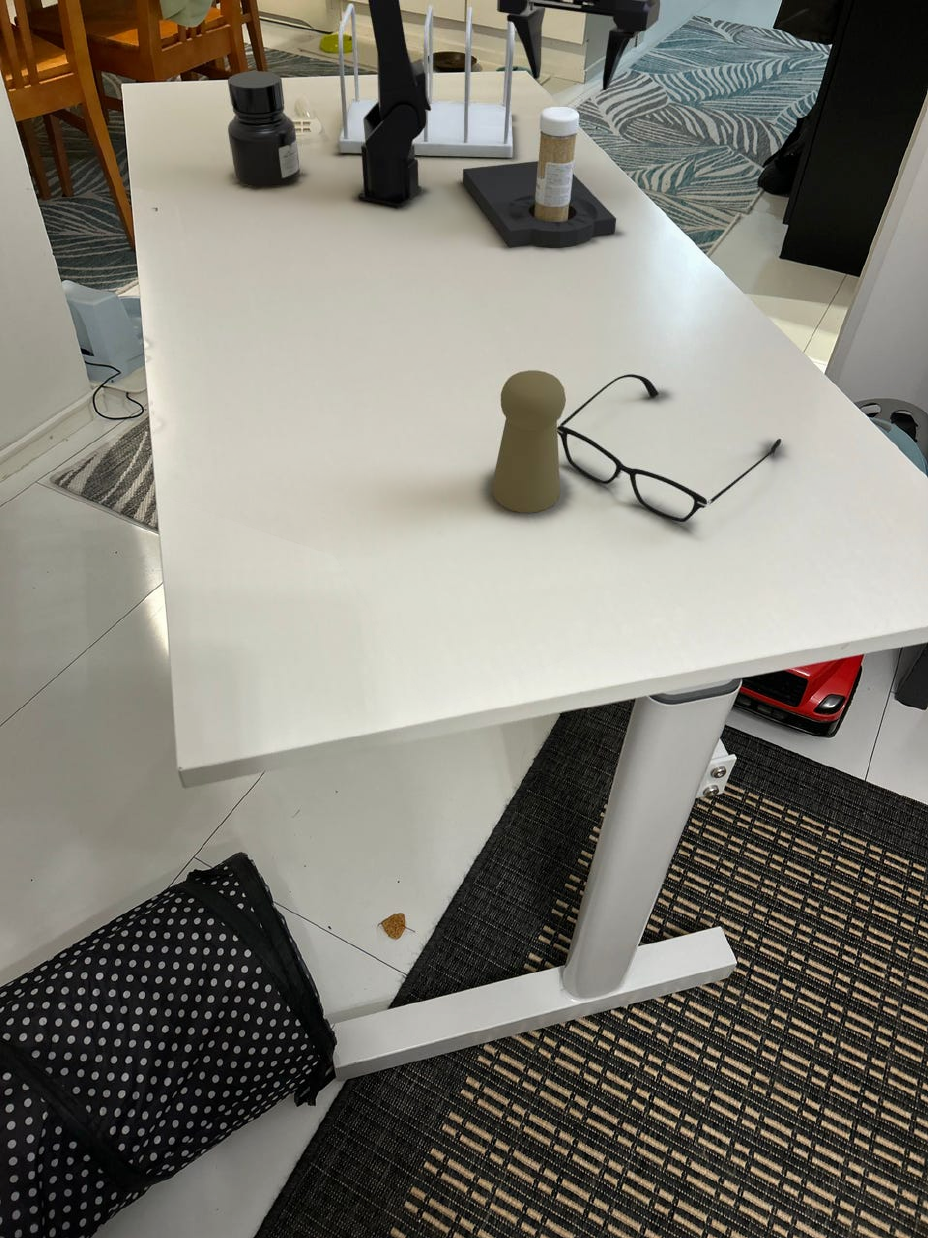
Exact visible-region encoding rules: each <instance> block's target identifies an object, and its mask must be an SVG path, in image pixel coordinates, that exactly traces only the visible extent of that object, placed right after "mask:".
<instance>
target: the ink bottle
mask: <svg viewBox="0 0 928 1238" xmlns="http://www.w3.org/2000/svg"><path fill="white" fill-rule="evenodd" d="M227 85H228V90H229V98H230V103H231V106H232V113H234V116H233V118H232V119H231V120H230V122H229V123H228V126H227V133H228V134H227V135H228V139H229V145H230V152H231V158H232V164H233V170H234V176H235V178H236V179H237V181H238V182H240V183H241V184H242V185H245V186H247V187H248V186H249V187H254V188H273V187H280V186H284V185H285V186H286V185H288V184H291V183H292V182H295V180H297V179H298V177H300V172H301V169H300V161H299V151H298V150H299V149H298V141H297V134H296V133H297V132H296V126H295V124H294V122H293V120H292V119H291V118H290V117H289V116H288V115H286V113H284V111H285V96H284V89H283V80H282V78H281V76H280V75H279V74H277V73H275V72H269V71H258V70H257V71H256V70H253V71H244V72H240V73H236V74H234V75H231V76H230V77H229V78H228V80H227Z"/></svg>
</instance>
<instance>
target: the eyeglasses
mask: <svg viewBox="0 0 928 1238" xmlns="http://www.w3.org/2000/svg"><path fill="white" fill-rule="evenodd" d="M626 378H633V379H638V380H639V381H640V382H641V383H642V384H643V385H644V387H645V389H646V391H647V393H648V395H649V397H650V398H652V397H657V396H659V395H660V393H659V392H658V389H656V387H655V385H654V384H653V383H652V381H650V380H649V379H648V378H646V377H644V376H642V375H638V374H633V373H630V374H624V375H621V376H618V377H617V378H614V379H613V380H611V381H610V382H609V383H607V384H606V385H604V386H603V387H602V388H601V389H600V390H599V391H597V392H596V393H595V394H593V396H591V397H590V398H589V399H587V400H586V402H584V403H583V404H582V405H581V406H579V407H578V408H577V409H576V410H574V412H573V413H571V414H570V415H569V416H568V417H567V418H565V419H564V420H563V421H562V422H561V423H560V424H558V425H557V435H558V436H559V437H560V440H561V443H562V447H563V450H564V454H565V457H566V460H567V461H568V463H569V465H571V466H572V467H573V468H574V469H575V470H576V471H578V472H579V473H581V474H583V475H584V476H586V477H587V478H588V479H590V480H593V481H594V482H596V483H599V484H602V485H608V484H610V483H611V482H613V481H614V480H615V479H620V478H621V477H622V475H621V474H622V473H626V474H627V475H629V480H630V483H631V487H632V489H633V492H634V495H635V497H636V499H637V501H638V502H639V504H641V505H642V506H643V507H645V508H646V509H648V510H650V511H651V512H653V513H655V514H657V515H658V516H661V517H663V518H666V519H669V520H671V521H675V522H678V523H685V522H687V521H688V520H689V519H690V518H692V517H693V516H694V515H695V514H696V512H697V511H698V510H699V509H705V508H706V507H708V506H710V505H711V504H713V503H714V502H715V501H716V500H718V499H719V498H720V497H721V496H723V494H725V493H726V492H727V491H728V490H730V489H731V488H732V487H733V486H734V485H736V484H737V483H738V482H739V481H740V480H741V479H743V478H744V477H745V476H746V475H748V474H749V473H750V472H751V471H752V470H754V469H755V468H756V467H757V466H759V464H761V463H762V462H763V461H764V460H765V459H766V458H768V457H769V456H770V455H772V454H775V452H776V450H777V448H778V447H780V446H781V443H782V439H781V438H778V439H777V440H775V442H774V443H773V445H772V446H771V448H770V451H769V452H767V454H765V455H764V456H763V457H762V458H760V460H758V461H757V462H756V463H755V464H753V465H752V466H751V467H750V468H748V469H747V470H746V471H745V472H743V473H742V474H740V475H739V476H738V477H737V478H736V479H735V480H733V481H732V482H731V483H729V484H728V485H727V486H725V488H723V489H722V490H720V492H718V493H717V494H716V495H715V496H713V497H711V499H708V500H707V498H705V497H704V496H702V495H701V494H699V493H697V492H695V491H694V490H692V489H691V488H688V487H687V486H685V485H683V484H680V483H679V482H676V481H674V480H672V479H670V478H667V477H665V476H663V475H661V474H657V473H654V472H650V471H648V470H644V469H639V468H634V467H633V468H632V467H629V466H626V465H625V464H623V462H622V461H621V460H620V459H619V458H618V457H616V456H615V455H614V454H612V452H610V451H608V450H607V449H606V448H604V447H603V446H601V445H600V444H598V443H597V442H595V441H594V440H593V439H592V438H591V439H590V438H589V437H587V436H586V435H584V434H581V433H579V432H577V431H575V430H573V429H571V428H569V427H566V426H565V425H566V424H568V422H570V421H571V420H572V419H573V418H574V417H575V416H577V415H578V414H579V413H580V412H581V411H582V410H583V409H584V408H585V407H586V406H588V405H589V404H590V403H591V402H592V401H593V400H594V399H595V398H597V397H598V396H599V395H600V394H601V393H602V392H603V391H604V390H606V389H607V388H609V387H610V386H611V385H612V384H614V383H615V382H617V381H619V380H622V379H626ZM568 435H570V436H573V437H575V438H577V439H579V440H581V441H582V442H585V443H587V444H588V445H590V446H592V447H594V448H595V449H596V450H598V451H599V452H601V453H602V454H603V455H604V456H605V457H607V458H608V459H610V460H611V461H612V462H613V463H614V464H615V470H614V473H613V474H612V476H611V477H610V478H608V479H607V480H603V479H601V478H597V477H596V476H594V475H592V474H591V473H589V472H587V471H586V470H584V469H583V468H581V467H580V466H578V464H576V463H575V462H574V460H573V458H572V457H571V454H570V453H571V452H570V450H569V445H568ZM637 475H640V476H645V477H649V478H651V479H654V480H657V481H660V482H663V483H664V484H667V485H669V486H672V487H674V488H675V489H678V490H679V491H681V492H683V493H685V494H686V495H688V496H689V497H691V498H692V499H693V506H692V509H691V511H690V512H689V513H688V514H687V515H686V516H684V517H683V518H681V517H677V516H674V515H671V514H668V513H666V512H663V511H660V510H659V509H656V508H655V507H653V506H651V505H650V504H648V503H646V502H645V501H644V499H643V497H642V496H641V494H640V491H639V489H638V484H637V478H636V477H637Z"/></svg>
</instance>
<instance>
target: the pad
mask: <svg viewBox="0 0 928 1238" xmlns="http://www.w3.org/2000/svg"><path fill="white" fill-rule="evenodd" d="M538 161H539V160H536V161H526V162H518V163H507V164H497V165H487V166H479V167H470V168H468V167H467V168H463V169H462V185H463V186H464V188H465V189H466V190H467V192H468V193H469V194H470V196H471V197H472V199H473V200H474V201H475V202H476V204H477V205H478V207H479V209H481V210H482V213H484V215H485V216H486V217H487V219H488V220H489V221H490V223H491V224H492V225H493V227H494V228H495V229H496V231H497V232H498V233H499V235H500V236H501V238H502V239H503V240H504V242H505V243H506V245H507V246H508V248H515V247H523V246H531V245H534V246H538V247H544V248H565V247H572V246H574V247H575V246H578V245H580V244H583V243H586V242H589V241H590V240H591V239H592V238H597V237H603V236H611V235H615V231H616V226H617V225H616V224H617V217H616V216H614V214H613V213H612V212H611V211H610V210H609V209H608V208H607V207H606V206H605V205H604V204H603V203H602V202H601V201H600V199H598V198H597V197H596V196H595V195H594V194H593V193H592V191H591V190H590V189H589V188H587V186H586V185H585V184H584V183H583V182H582V181H581V180H580V179H579V178H578V177H577V176H576V175H575V174H574V173H573V177H572V186H571V196H570V202H569V208H568V218H567V221H561V222H547V221H542V220H538V219H536V218H534V216H535V203H536V199H535V196H536V183H537V170H538Z"/></svg>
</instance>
